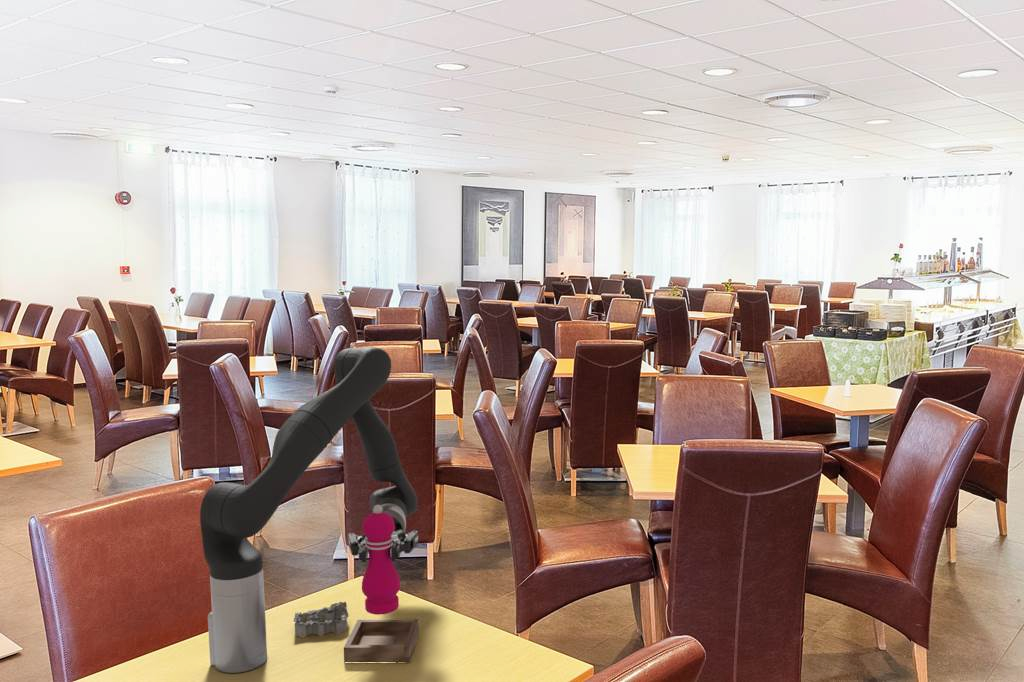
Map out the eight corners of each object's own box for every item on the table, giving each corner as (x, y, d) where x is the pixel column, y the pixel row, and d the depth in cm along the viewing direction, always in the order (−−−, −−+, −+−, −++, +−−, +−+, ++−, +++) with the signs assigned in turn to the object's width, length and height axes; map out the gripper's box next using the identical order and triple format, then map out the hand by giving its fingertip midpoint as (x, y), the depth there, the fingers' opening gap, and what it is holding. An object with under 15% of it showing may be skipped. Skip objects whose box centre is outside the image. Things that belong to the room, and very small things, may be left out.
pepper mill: (393, 617, 155) (389, 511, 153) (356, 614, 157) (351, 510, 154) (406, 601, 162) (402, 499, 160) (370, 598, 164) (366, 498, 161)
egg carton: (349, 619, 174) (348, 600, 173) (347, 635, 166) (347, 615, 166) (296, 623, 172) (295, 604, 172) (292, 639, 165) (291, 619, 165)
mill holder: (344, 663, 154) (343, 647, 154) (358, 634, 166) (357, 619, 166) (409, 663, 154) (409, 647, 153) (419, 634, 166) (418, 619, 165)
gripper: (350, 510, 172) (338, 538, 155) (421, 507, 172) (416, 535, 156) (352, 545, 172) (340, 578, 156) (422, 542, 173) (418, 574, 156)
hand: (378, 556), depth 156 cm, fingers closed on pepper mill, 4 cm apart
